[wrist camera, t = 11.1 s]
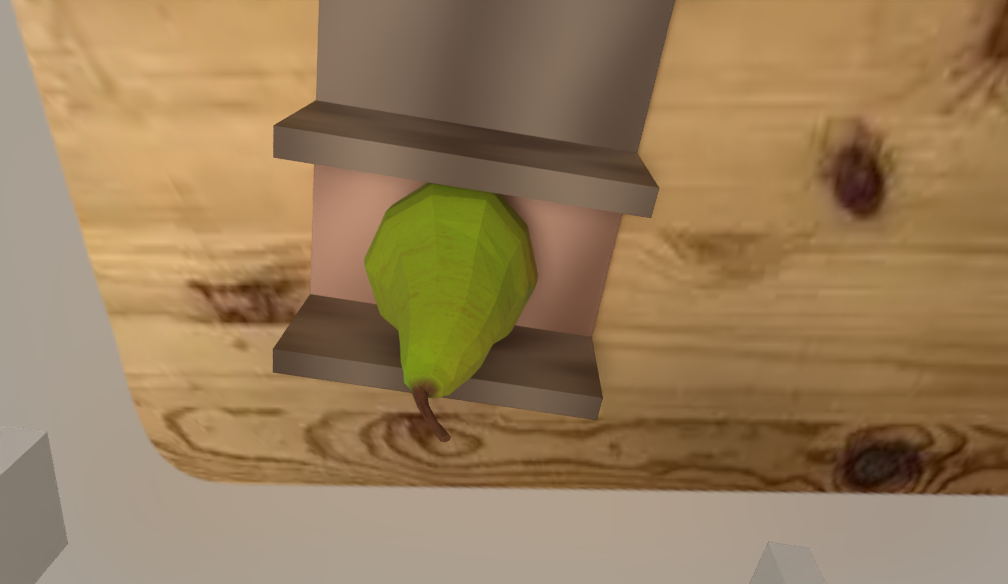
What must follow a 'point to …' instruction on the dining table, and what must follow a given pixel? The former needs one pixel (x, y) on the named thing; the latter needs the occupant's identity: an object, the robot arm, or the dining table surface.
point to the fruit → (449, 283)
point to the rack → (475, 171)
